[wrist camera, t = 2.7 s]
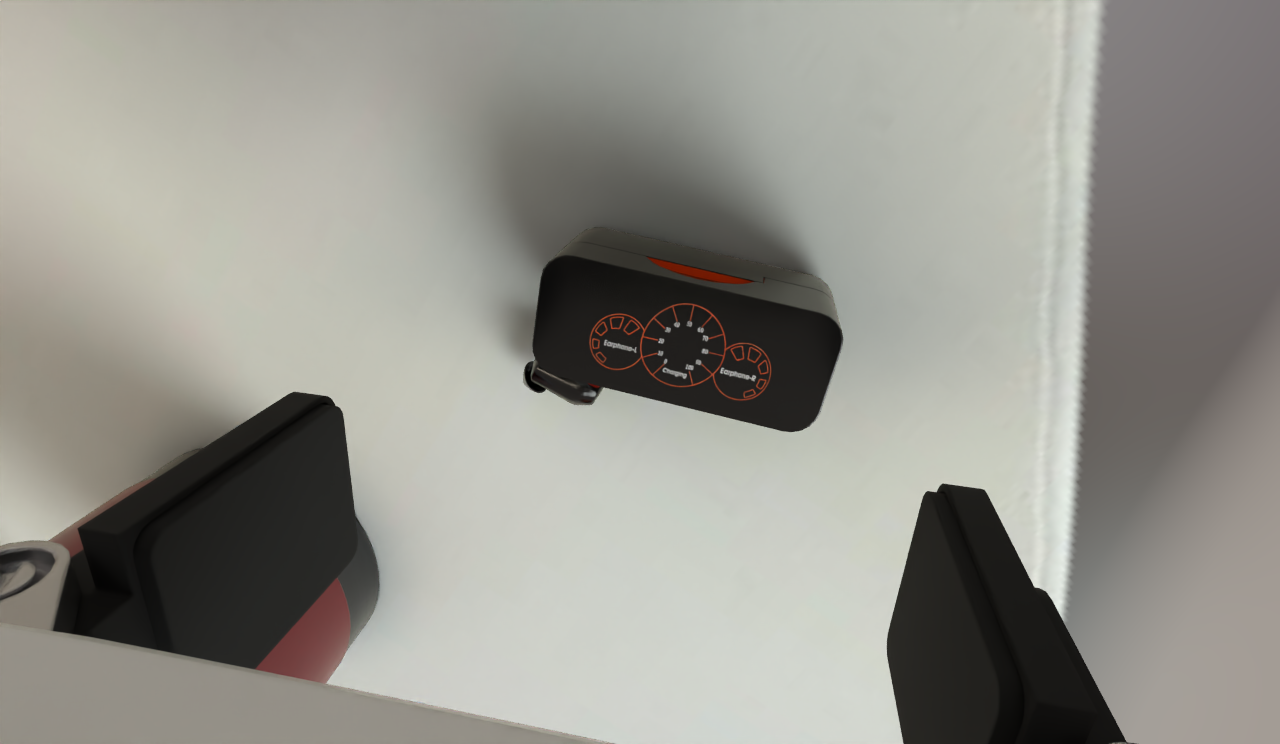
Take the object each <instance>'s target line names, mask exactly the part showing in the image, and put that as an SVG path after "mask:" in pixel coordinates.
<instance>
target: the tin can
mask: <svg viewBox="0 0 1280 744" xmlns="http://www.w3.org/2000/svg"><path fill="white" fill-rule="evenodd" d="M201 449H203V448H201ZM201 449H196V450H193V451H190V452H188V453H185V454H183V455H181V456H179V457H178V458H176V459H174V460H173V461H171V462H170V463H168V464H167V465H165V466H164V467H162V468H161V469H159V470H158V471H156V472H155V473H153V474H152V475H150V476H149V477H147V478H146V479H144V480H143V481H141V482H140V483H137V484H134V485H133V486H131V487H129V488H127V489H126V490H124V491H122V492H121V493H119V494H118V495H116V496H115V497H113V498H112V499H110V500H109V501H107V502H106V503H104V504H103V505H101V506H100V507H98V508H97V509H95V510H94V511H92V512H91V513H89V514H88V515H86V516H85V517H83V518H82V519H80V520H79V521H77V522H76V523H74V524H73V525H71V526H70V527H68V528H67V529H65V530H64V531H62V532H61V533H59V534H58V535H56V536H55V537H53V538H52V539H50V540H49V541H51V542H54V543H58V544H61V545H63V546H64V547H65V548H66V549H67V550H68V551H69V553H70V556H71V557H72V556H74V555H75V554H77V553H78V552H80V551H81V550H83V545H82V542H81V539H80V536H79V532H78V529H77V528H79V527H80V526H82V525H83V524H85V523H86V522H88V521H90V520H91V519H93V518H94V517H96V516H97V515H99V514H101V513H102V512H104V511H105V510H107V509H109V508H110V507H112V506H113V505H115V504H116V503H118V502H120V501H121V500H123V499H124V498H126V497H127V496H129V495H131V494H132V493H134V492H135V491H137V490H138V489H140V488H142V487H143V486H145V485H146V484H148V483H149V482H151V481H153V480H154V479H156V478H157V477H159V476H161V475H162V474H164V473H165V472H167V471H168V470H170V469H172V468H173V467H175V466H176V465H178V464H179V463H181V462H183V461H184V460H186V459H187V458H189V457H190V456H192V455H194V454H195V453H197V452H198V451H200V450H201ZM356 526H357V535H358V546H357V550H356V554H355V556H354V558H353V560H352V561H351V562H350V564H349V565H348V566H347V567H346V568H345V569H344V570H343V571H342V573H341V574H340V575H339V576H338V577H337V578H336V579H335V580H334V581H333V583H332V584H331V585H330V586H329V587H328V588H327V589H326V590H325V592H324V593H323V594H322V595H321V596H320V597H319V598H318V599H317V601H316V602H315V603H314V604H313V605H312V606H311V607H310V608H309V609H308V611H307V612H306V613H305V614H304V615H303V616H302V617H301V618H300V620H299V621H298V622H297V623H296V624H295V625H294V626H293V627H292V628H291V630H290V631H289V632H288V633H287V634H286V635H285V636H284V637H283V639H282V640H281V641H280V642H279V643H278V644H277V645H276V646H275V647H274V649H273V650H272V651H271V652H270V653H269V654H268V655H267V656H266V658H265V659H264V660H263V661H262V662H261V663H260V664H259V665H258V666H257V668H256V669H255V670H259V671H264V672H269V673H274V674H279V675H284V676H289V677H294V678H299V679H304V680H309V681H314V682H319V683H324V684H326V682H327V681H328V680H329V678H330V677H331V675H332V674H333V673H334V671H335V670H336V668H337V667H338V666H339V664H340V663H341V661H342V659H343V657H344V655H345V653H346V651H347V650H348V648H349V647H350V646H351V644H352V643H353V641H354V640H355V639H356V637H357V636H358V635H359V633H360V632H361V630H362V629H363V628H364V626H365V625H366V623H367V622H368V621H369V619H370V617H371V615H372V613H373V611H374V609H375V606H376V603H377V599H378V592H379V571H378V567H377V562H376V558H375V555H374V552H373V549H372V546H371V544H370V542H369V540H368V538H367V536H366V534H365V532H364V530H363V529H362V527H361V526H360V524H359V522H358V521H357V519H356Z"/></svg>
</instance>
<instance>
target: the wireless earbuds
mask: <svg viewBox="0 0 1280 744" xmlns="http://www.w3.org/2000/svg"><path fill="white" fill-rule="evenodd" d="M532 344H533V353H534V356H535V360H534V361H531V362H529V363H528V364H527V365H526V366H525V369H524V373H523V383H524V385H525V386H526V387H528V388H529V389H530V390H532V391H534V392H537V393H542V392H544V391H545V390H546V389H547V390H549V391H550V392H552V393H554V394H556V395H557V396H559V397H561V398H563V399H564V400H566V401H567V402H569V403H571V404H574V405H592V404H593V403H594V402H595V400H596V399H597V397H598V396H599V394H600V393H601V391H602V389H603V388H604V387H605V388H609V389H613V390H617V391H621V392H625V393H630V394H634V395H638V396H642V397H646V398H650V399H654V400H658V401H662V402H666V403H670V404H674V405H678V406H683V407H687V408H691V409H695V410H699V411H703V412H707V413H711V414H715V415H719V416H723V417H727V418H731V419H735V420H740V421H744V422H748V423H752V424H756V425H760V426H764V427H768V428H772V429H776V430H780V431H787V432H795V431H801V430H803V429H805V428H807V427H809V426H810V425H811V424H813V423H814V422H815V421H816V419H817V418H818V416H819V414H820V412H821V409H822V406H823V403H824V400H825V397H826V394H827V391H828V388H829V385H830V382H831V379H832V376H833V373H834V370H835V367H836V364H837V361H838V359H839V356H840V353H841V350H842V345H843V335H842V330H841V326H840V322H839V319H838V315H837V311H836V307H835V303H834V300H833V296H832V292H831V290H830V288H829V287H828V285H827V284H826V283H825V282H824V281H823V280H821V279H820V278H818V277H816V276H813V275H810V274H805V273H801V272H797V271H792V270H788V269H784V268H779V267H775V266H770V265H766V264H762V263H757V262H753V261H748V260H744V259H740V258H735V257H731V256H726V255H722V254H718V253H713V252H709V251H704V250H700V249H696V248H691V247H687V246H682V245H678V244H674V243H669V242H665V241H660V240H656V239H652V238H647V237H643V236H638V235H634V234H630V233H625V232H621V231H616V230H612V229H608V228H602V227H594V228H590V229H586V230H585V231H583V232H582V233H580V234H579V235H578V236H577V237H576V238H575V239H573V240H572V241H571V242H570V243H569V244H568V245H567V246H566V247H565V248H564V249H562V250H561V251H560V252H559V253H558V254H557V255H556V256H555V257H554V258H553V259H551V260H550V261H549V262H548V264H547V265H546V266H545V268H544V269H543V272H542V275H541V280H540V288H539V296H538V304H537V311H536V319H535V327H534V335H533V343H532Z"/></svg>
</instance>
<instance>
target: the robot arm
mask: <svg viewBox="0 0 1280 744" xmlns="http://www.w3.org/2000/svg"><path fill="white" fill-rule="evenodd" d="M77 529H78V532H79V536H80V539H81V542H82V545H83V550H81V551H80V552H78V553H77V554H75V555H74V556H72V557H71V556H70V553H69V551H68V550H67V549H66V548H65V547H64V546H63V545H61V544H58V543H54V542H51V541H23V542H16V543H9V544H5V545H2V546H0V744H614V743H609V742H604V741H599V740H595V739H590V738H585V737H581V736H576V735H571V734H567V733H562V732H557V731H552V730H548V729H543V728H538V727H533V726H528V725H524V724H519V723H514V722H509V721H504V720H499V719H495V718H490V717H485V716H480V715H475V714H470V713H466V712H461V711H456V710H451V709H446V708H442V707H437V706H432V705H427V704H422V703H417V702H412V701H407V700H403V699H398V698H393V697H388V696H383V695H378V694H373V693H369V692H364V691H359V690H354V689H349V688H344V687H339V686H334V685H329V684H324V683H319V682H314V681H309V680H304V679H299V678H294V677H289V676H284V675H279V674H274V673H269V672H264V671H259V670H255V669H256V668H257V666H258V665H259V664H260V663H261V662H262V661H263V660H264V659H265V658H266V656H267V655H268V654H269V653H270V652H271V651H272V650H273V649H274V647H275V646H276V645H277V644H278V643H279V642H280V641H281V640H282V639H283V637H284V636H285V635H286V634H287V633H288V632H289V631H290V630H291V628H292V627H293V626H294V625H295V624H296V623H297V622H298V621H299V620H300V618H301V617H302V616H303V615H304V614H305V613H306V612H307V611H308V609H309V608H310V607H311V606H312V605H313V604H314V603H315V602H316V601H317V599H318V598H319V597H320V596H321V595H322V594H323V593H324V592H325V590H326V589H327V588H328V587H329V586H330V585H331V584H332V583H333V581H334V580H335V579H336V578H337V577H338V576H339V575H340V574H341V573H342V571H343V570H344V569H345V568H346V567H347V566H348V565H349V564H350V562H351V561H352V560H353V558H354V556H355V554H356V550H357V546H358V535H357V526H356V518H355V510H354V501H353V493H352V485H351V476H350V468H349V460H348V451H347V443H346V435H345V426H344V418H343V413H342V411H341V409H340V408H339V407H337V406H335V404H334V402H333V400H332V399H331V398H329V397H328V396H321V395H314V394H307V393H300V392H293V393H290V394H288V395H287V396H285V397H283V398H282V399H280V400H279V401H277V402H276V403H274V404H272V405H271V406H269V407H268V408H266V409H265V410H263V411H261V412H260V413H258V414H257V415H255V416H254V417H252V418H250V419H249V420H247V421H246V422H244V423H242V424H241V425H239V426H238V427H236V428H235V429H233V430H231V431H230V432H228V433H227V434H225V435H224V436H222V437H220V438H219V439H217V440H216V441H214V442H213V443H211V444H209V445H208V446H206V447H205V448H203V449H201V450H200V451H198V452H197V453H195V454H194V455H192V456H190V457H189V458H187V459H186V460H184V461H183V462H181V463H179V464H178V465H176V466H175V467H173V468H172V469H170V470H168V471H167V472H165V473H164V474H162V475H161V476H159V477H157V478H156V479H154V480H153V481H151V482H149V483H148V484H146V485H145V486H143V487H142V488H140V489H138V490H137V491H135V492H134V493H132V494H131V495H129V496H127V497H126V498H124V499H123V500H121V501H120V502H118V503H116V504H115V505H113V506H112V507H110V508H109V509H107V510H105V511H104V512H102V513H101V514H99V515H97V516H96V517H94V518H93V519H91V520H90V521H88V522H86V523H85V524H83V525H82V526H80V527H79V528H77ZM887 657H888V663H889V668H890V673H891V679H892V684H893V689H894V695H895V700H896V705H897V711H898V716H899V721H900V727H901V732H902V737H903V743H904V744H1135V743H1127V742H1126V740H1125V738H1124V736H1123V735H1122V732H1121V731H1120V729H1119V727H1118V725H1117V723H1116V721H1115V719H1114V717H1113V715H1112V713H1111V712H1110V710H1109V708H1108V706H1107V704H1106V702H1105V700H1104V699H1103V696H1102V695H1101V693H1100V691H1099V689H1098V687H1097V685H1096V683H1095V681H1094V679H1093V677H1092V676H1091V674H1090V672H1089V670H1088V668H1087V666H1086V664H1085V663H1084V660H1083V658H1082V656H1081V655H1080V653H1079V651H1078V649H1077V647H1076V645H1075V643H1074V641H1073V639H1072V638H1071V636H1070V634H1069V632H1068V630H1067V628H1066V626H1065V624H1064V622H1063V620H1062V618H1061V617H1060V615H1059V613H1058V611H1057V609H1056V607H1055V605H1054V603H1053V601H1052V600H1051V598H1050V597H1049V595H1048V594H1047V593H1046V592H1045V591H1044V590H1042V589H1040V588H1034V586H1033V584H1032V582H1031V580H1030V578H1029V576H1028V574H1027V572H1026V570H1025V568H1024V566H1023V564H1022V562H1021V560H1020V558H1019V556H1018V554H1017V552H1016V550H1015V548H1014V546H1013V544H1012V542H1011V540H1010V538H1009V536H1008V534H1007V532H1006V530H1005V528H1004V526H1003V524H1002V522H1001V520H1000V518H999V516H998V514H997V512H996V511H995V509H994V507H993V505H992V503H991V501H990V499H989V497H988V495H987V493H986V492H985V490H983V489H977V488H970V487H963V486H956V485H949V484H942V485H940V487H939V489H938V490H937V493H936V492H929V491H927V492H926V493H925V494H924V496H923V499H922V503H921V507H920V510H919V514H918V518H917V522H916V526H915V530H914V534H913V538H912V542H911V545H910V549H909V553H908V557H907V561H906V565H905V569H904V573H903V577H902V581H901V584H900V588H899V592H898V596H897V600H896V604H895V608H894V612H893V616H892V619H891V623H890V627H889V632H888V638H887Z"/></svg>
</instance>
